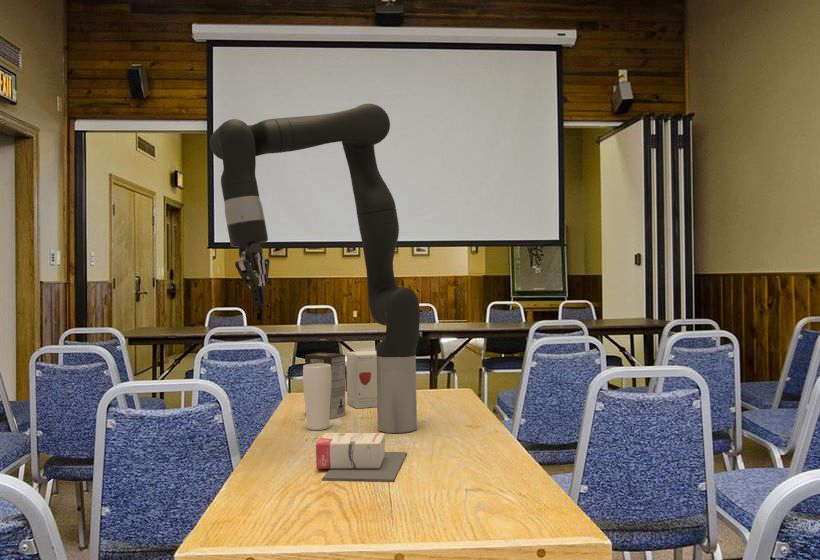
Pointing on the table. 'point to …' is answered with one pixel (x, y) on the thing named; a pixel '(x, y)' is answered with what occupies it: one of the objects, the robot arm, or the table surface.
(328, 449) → the ink box
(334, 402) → the coffee box
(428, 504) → the table surface
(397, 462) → the charcoal mat
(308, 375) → the drinking glass
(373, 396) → the supplement box
